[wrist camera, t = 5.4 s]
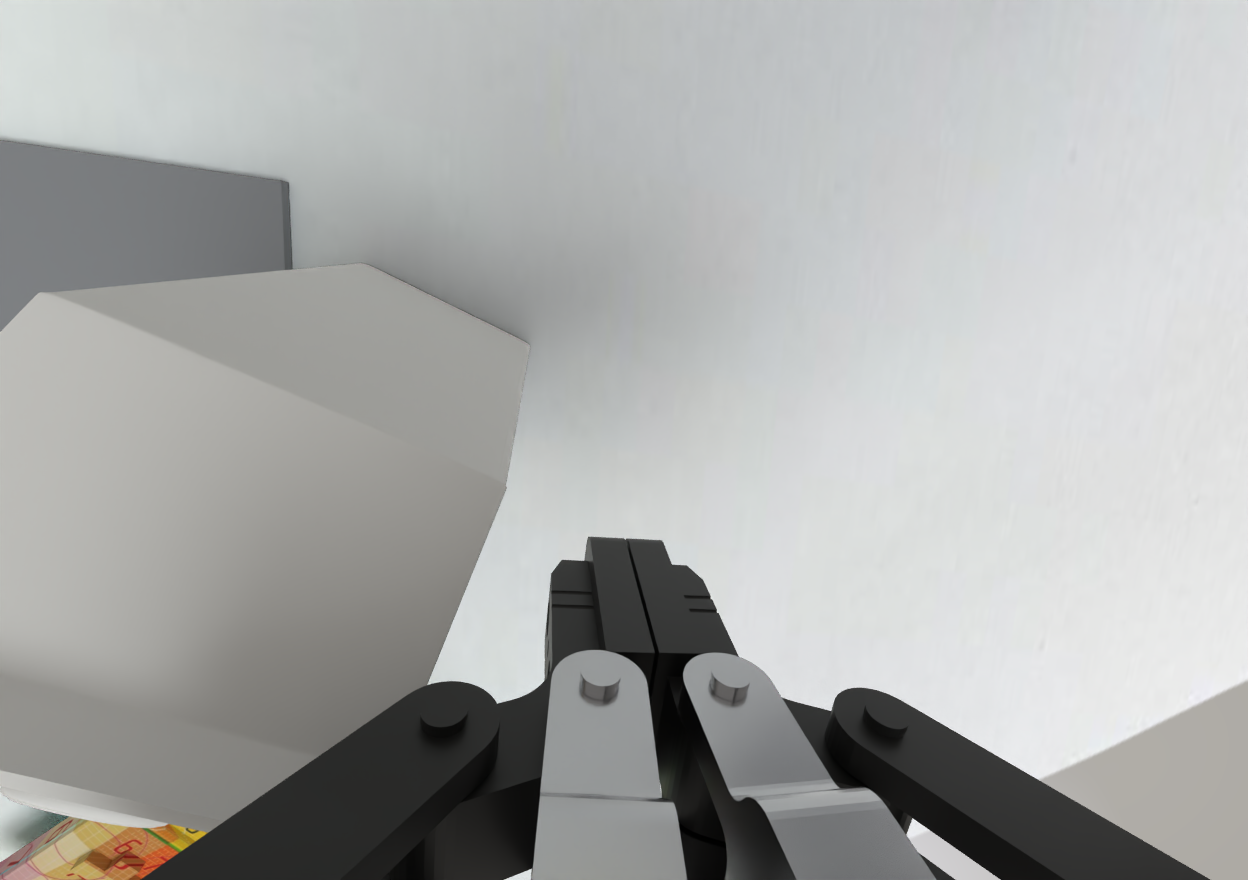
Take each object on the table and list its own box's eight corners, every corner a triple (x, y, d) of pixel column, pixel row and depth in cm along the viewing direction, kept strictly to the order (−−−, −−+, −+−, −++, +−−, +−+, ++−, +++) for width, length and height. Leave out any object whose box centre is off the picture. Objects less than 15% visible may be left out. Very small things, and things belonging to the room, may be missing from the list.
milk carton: (362, 260, 22) (-401, 324, 4) (531, 343, 24) (483, 631, 6) (300, 419, 24) (-441, 942, 6) (463, 486, 26) (268, 1042, 8)
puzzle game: (-76, 934, 24) (294, 688, 23) (20, 828, 29) (335, 616, 27) (151, 1049, 28) (480, 846, 27) (204, 941, 33) (490, 761, 31)
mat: (-404, 82, 18) (-435, 77, 17) (288, 182, 21) (281, 181, 20) (-255, 494, 22) (-276, 501, 22) (302, 527, 25) (297, 533, 25)
